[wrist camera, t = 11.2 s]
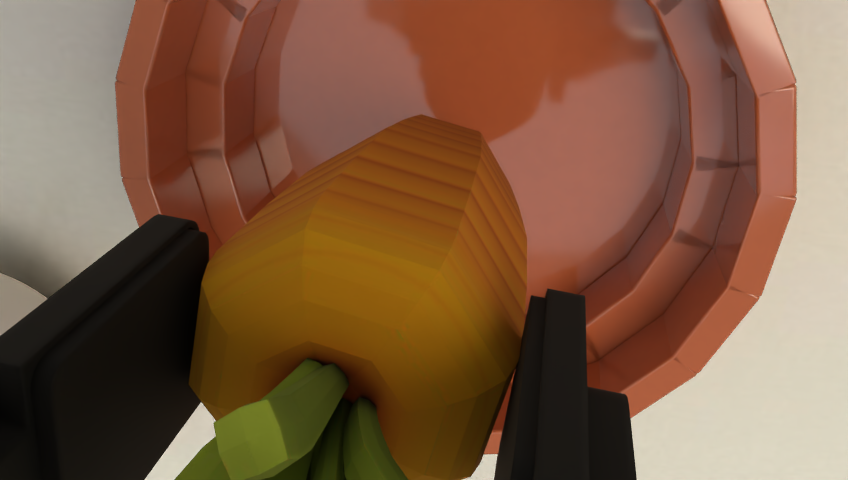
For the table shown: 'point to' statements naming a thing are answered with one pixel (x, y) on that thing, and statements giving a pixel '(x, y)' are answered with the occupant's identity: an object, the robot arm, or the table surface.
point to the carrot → (366, 316)
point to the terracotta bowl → (500, 140)
